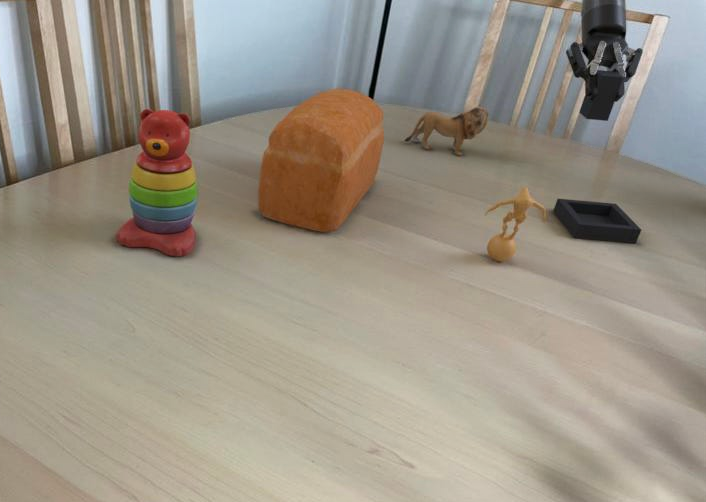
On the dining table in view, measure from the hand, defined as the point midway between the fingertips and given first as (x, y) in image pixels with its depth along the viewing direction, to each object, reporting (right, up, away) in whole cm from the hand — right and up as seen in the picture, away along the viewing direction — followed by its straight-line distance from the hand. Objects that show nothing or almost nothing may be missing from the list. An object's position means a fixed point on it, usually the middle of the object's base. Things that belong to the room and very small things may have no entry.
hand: (605, 98), depth 137 cm
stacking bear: (-79, -30, -32) cm, 90 cm away
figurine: (-30, -34, -29) cm, 54 cm away
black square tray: (-10, -26, -16) cm, 32 cm away
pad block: (0, -2, +4) cm, 5 cm away
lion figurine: (-27, -7, +10) cm, 30 cm away
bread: (-55, -22, -15) cm, 61 cm away
